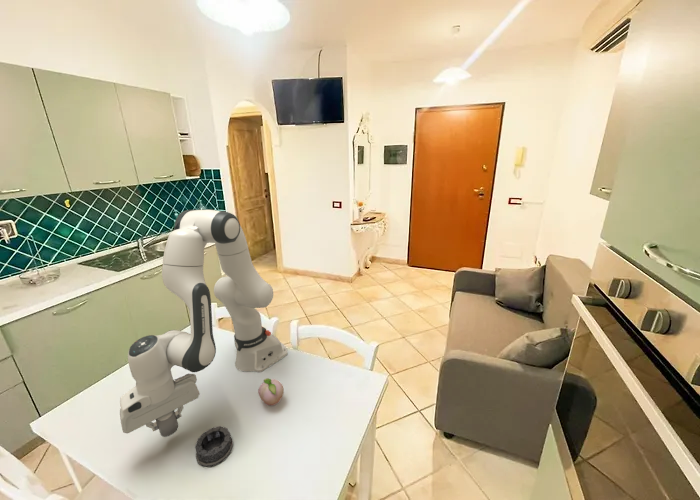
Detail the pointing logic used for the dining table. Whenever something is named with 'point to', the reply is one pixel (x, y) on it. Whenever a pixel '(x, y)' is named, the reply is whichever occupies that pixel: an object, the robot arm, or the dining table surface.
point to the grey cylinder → (167, 424)
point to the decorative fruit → (271, 391)
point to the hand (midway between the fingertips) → (167, 422)
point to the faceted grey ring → (213, 446)
